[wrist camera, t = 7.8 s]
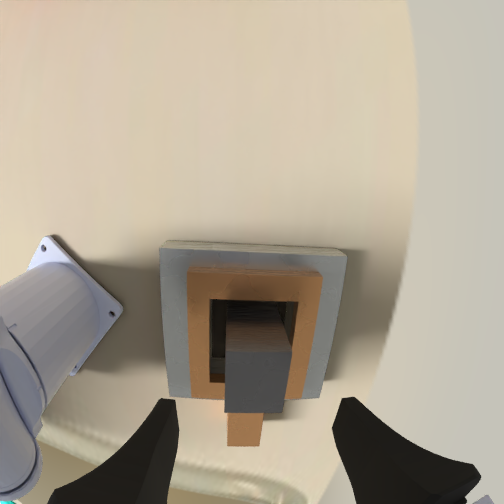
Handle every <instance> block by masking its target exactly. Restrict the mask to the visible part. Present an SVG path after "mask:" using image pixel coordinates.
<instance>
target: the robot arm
mask: <svg viewBox="0 0 504 504" xmlns="http://www.w3.org/2000/svg"><path fill="white" fill-rule="evenodd" d="M44 245H45V246H46V250H45V249H44ZM110 311H112V312H114V313H115V315H112V314H111V313H110ZM122 312H123V307H122V305H121V304H120V303H119V302H118V301H117V300H116V299H115V298H114V297H112V296H111V295H110V294H109V293H108V292H107V291H106V290H105V289H104V288H103V287H101V286H100V285H99V284H98V283H97V282H96V281H95V280H94V279H93V278H92V277H91V276H90V275H89V274H88V273H87V272H86V271H85V270H83V269H82V268H81V267H80V266H79V265H78V264H77V263H76V262H75V261H74V260H73V259H72V258H71V257H70V256H69V255H68V254H67V253H66V252H65V250H64V249H63V248H62V247H61V246H60V245H59V244H58V243H57V242H56V241H55V240H54V239H53V238H52V237H51V236H49V235H47V236H45V237H43V239H42V240H41V242H40V244H39V246H38V248H37V250H36V252H35V254H34V256H33V258H32V260H31V262H30V264H29V266H28V269H27V271H26V272H25V273H23V274H21V275H19V276H18V277H16V278H14V279H12V280H11V281H9V282H7V283H6V284H4V285H2V286H0V501H13V500H16V499H18V498H21V497H23V496H24V495H26V494H27V493H28V492H30V491H31V490H32V489H33V487H34V486H35V485H36V483H37V482H38V480H39V478H40V475H41V472H42V464H43V462H42V454H41V450H40V447H39V445H38V443H37V441H36V439H35V438H36V436H37V435H38V433H39V431H40V430H41V428H42V426H43V424H42V422H41V415H42V414H43V412H44V410H45V409H46V408H47V406H48V405H49V403H50V402H51V400H52V399H53V397H54V396H55V394H56V393H57V391H58V390H59V388H60V387H61V385H62V384H63V382H64V381H65V380H66V378H67V377H68V375H70V376H74V375H75V374H76V373H77V371H78V370H79V369H80V367H81V366H82V365H83V363H84V362H85V360H86V359H87V358H88V356H89V355H90V354H91V352H92V351H93V350H94V348H95V347H96V346H97V344H98V343H99V342H100V340H101V339H102V338H103V337H104V335H105V334H106V333H107V331H108V330H109V329H110V327H111V326H112V325H113V324H114V322H115V321H116V320H117V319H118V317H119V316H120V315H121V313H122ZM332 430H333V435H334V439H335V443H336V447H337V449H338V452H339V455H340V457H341V460H342V462H343V465H344V467H345V470H346V472H347V475H348V477H349V479H350V482H351V485H352V488H353V492H354V496H355V500H356V504H466V503H467V500H466V498H465V496H466V495H467V494H468V493H469V492H470V491H471V490H472V489H473V488H474V487H475V486H476V485H477V484H478V483H479V481H480V479H481V475H480V473H479V472H478V470H477V469H476V468H475V466H474V465H473V464H469V463H464V462H460V461H455V460H451V459H448V458H445V457H442V456H440V455H437V454H434V453H432V452H430V451H428V450H425V449H423V448H421V447H419V446H417V445H416V444H414V443H412V442H410V441H409V440H407V439H405V438H404V437H402V436H401V435H400V434H398V433H397V432H395V431H394V430H392V429H391V428H390V427H389V426H387V425H386V424H385V423H383V422H382V421H381V420H380V419H379V418H377V417H376V416H375V415H374V414H373V413H372V412H371V411H370V410H369V409H367V408H366V407H365V406H364V405H363V404H362V403H361V402H360V401H359V400H357V399H356V398H355V397H349V398H342V400H341V403H340V406H339V409H338V412H337V415H336V418H335V421H334V423H333V426H332ZM178 438H179V425H178V418H177V410H176V402H175V400H173V399H163V398H161V399H159V400H158V402H157V404H156V405H155V407H154V408H153V410H152V411H151V413H150V414H149V416H148V417H147V418H146V420H145V421H144V422H143V423H142V425H141V426H140V427H139V429H138V430H137V431H136V432H135V433H134V434H133V436H132V437H131V438H130V439H129V440H128V441H127V442H126V443H125V444H124V445H123V446H122V447H121V448H120V449H119V450H118V451H117V452H116V453H115V454H114V455H112V456H111V457H110V458H109V459H108V460H106V461H105V462H104V463H102V464H101V465H100V466H98V467H97V468H96V469H94V470H93V471H91V472H89V473H88V474H86V475H84V476H82V477H81V478H79V479H77V480H75V481H74V482H71V483H69V484H67V485H64V486H62V487H60V488H57V489H55V490H54V492H53V493H52V495H51V497H50V499H49V501H48V503H47V504H167V496H168V489H169V485H170V480H171V476H172V471H173V467H174V462H175V458H176V453H177V448H178ZM473 504H494V503H493V502H492V500H491V498H490V497H489V496H488V495H485V496H484V497H482V498H481V499H479V500H478V501H476V502H475V503H473Z"/></svg>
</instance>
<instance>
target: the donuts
mask: <svg viewBox="0 0 504 504" xmlns="http://www.w3.org/2000/svg"><path fill="white" fill-rule="evenodd" d="M0 502H1V504H15V503H13V502H11V501H0Z"/></svg>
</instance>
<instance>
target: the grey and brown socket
mask: <svg viewBox="0 0 504 504" xmlns="http://www.w3.org/2000/svg"><path fill="white" fill-rule="evenodd" d="M159 251H160V287H161V308H162V323H163V337H164V348H165V359H166V369H167V378H168V386H169V394H170V396H172V397H183V398H195V399H212V400H225V358H220V357H212V299H226V300H253V301H287V306H286V315H285V323H284V329H285V332H286V334H287V337H288V340H289V343H290V346H291V349H292V358H291V365H290V371H289V377H288V382H287V388H286V394H285V399H284V400H295V399H312V398H319V396H320V393H321V389H322V385H323V381H324V377H325V373H326V368H327V364H328V360H329V356H330V351H331V347H332V342H333V337H334V332H335V327H336V322H337V317H338V312H339V307H340V301H341V295H342V290H343V284H344V277H345V271H346V264H347V258H348V256H346V255H345V254H343V253H342V252H341V251H339V250H338V249H334V248H315V247H296V246H276V245H255V244H234V243H212V242H190V241H166V242H165V243H164V244H163V245H162V246H161V247H160V248H159ZM263 415H264V413H227V446H259V444H260V437H261V430H262V422H263Z"/></svg>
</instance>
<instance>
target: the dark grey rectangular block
mask: <svg viewBox="0 0 504 504" xmlns="http://www.w3.org/2000/svg"><path fill="white" fill-rule="evenodd" d="M291 358H292V349H291V346H290V343H289V340H288V337H287V334H286V332H285V329H284V326H283V323H282V320H281V317H280V314H279V311H278V308H277V305H276V302H275V301H253V300H227V317H226V350H225V411H224V413H282V410H283V405H284V399H285V394H286V388H287V382H288V377H289V371H290V365H291Z"/></svg>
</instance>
